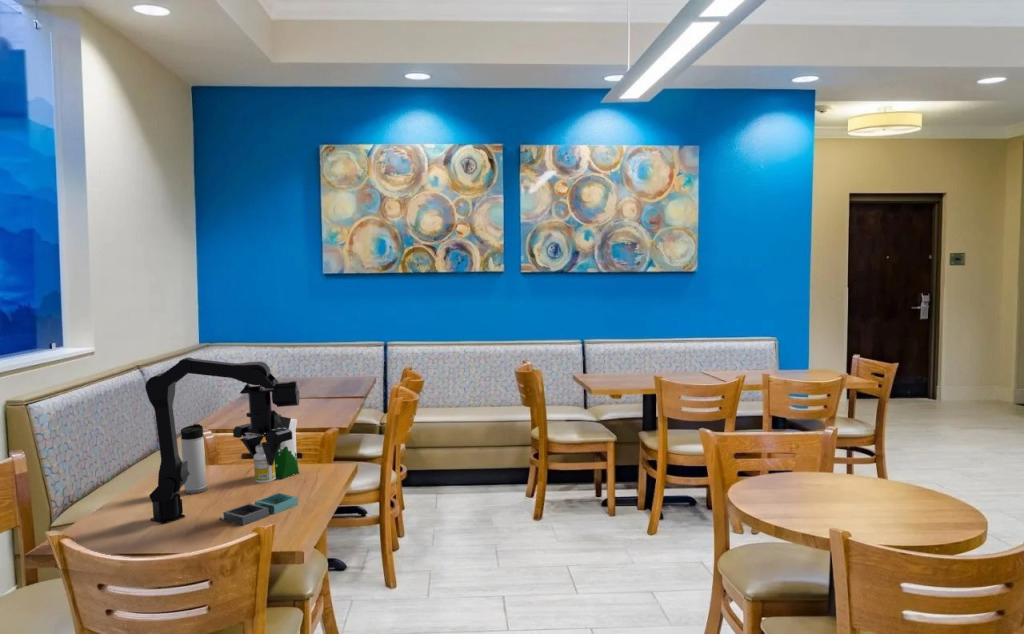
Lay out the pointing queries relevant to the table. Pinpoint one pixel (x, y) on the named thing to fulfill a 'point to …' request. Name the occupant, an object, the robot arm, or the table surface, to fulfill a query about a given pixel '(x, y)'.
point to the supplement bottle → (263, 467)
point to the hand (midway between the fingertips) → (264, 463)
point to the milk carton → (287, 455)
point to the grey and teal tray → (260, 509)
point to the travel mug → (194, 458)
